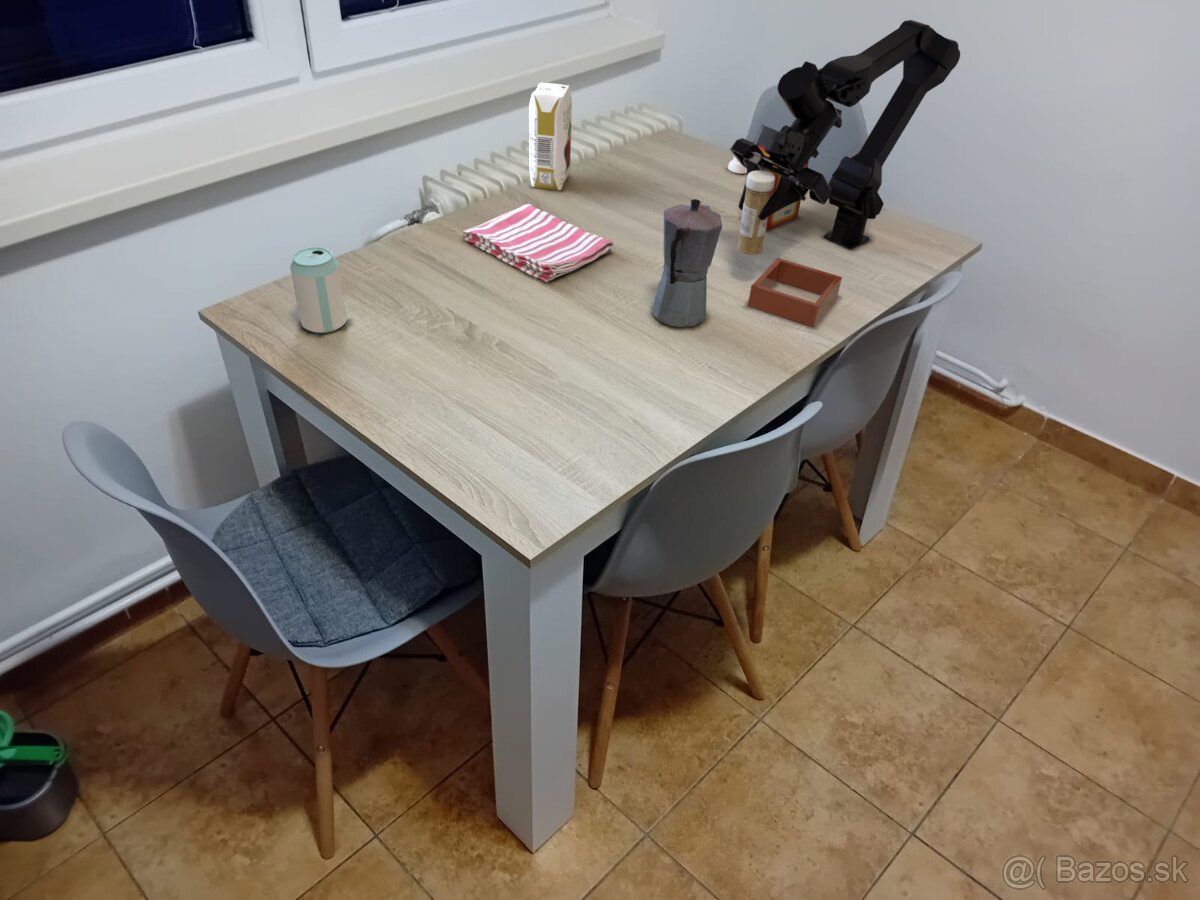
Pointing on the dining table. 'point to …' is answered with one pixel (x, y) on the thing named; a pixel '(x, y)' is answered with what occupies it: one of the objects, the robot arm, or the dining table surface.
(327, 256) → the can
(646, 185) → the dining table surface
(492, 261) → the dining table surface
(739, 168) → the white jar
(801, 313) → the holder
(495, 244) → the dish towel
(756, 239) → the sprinkles bottle
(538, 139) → the juice carton
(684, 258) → the moka pot
